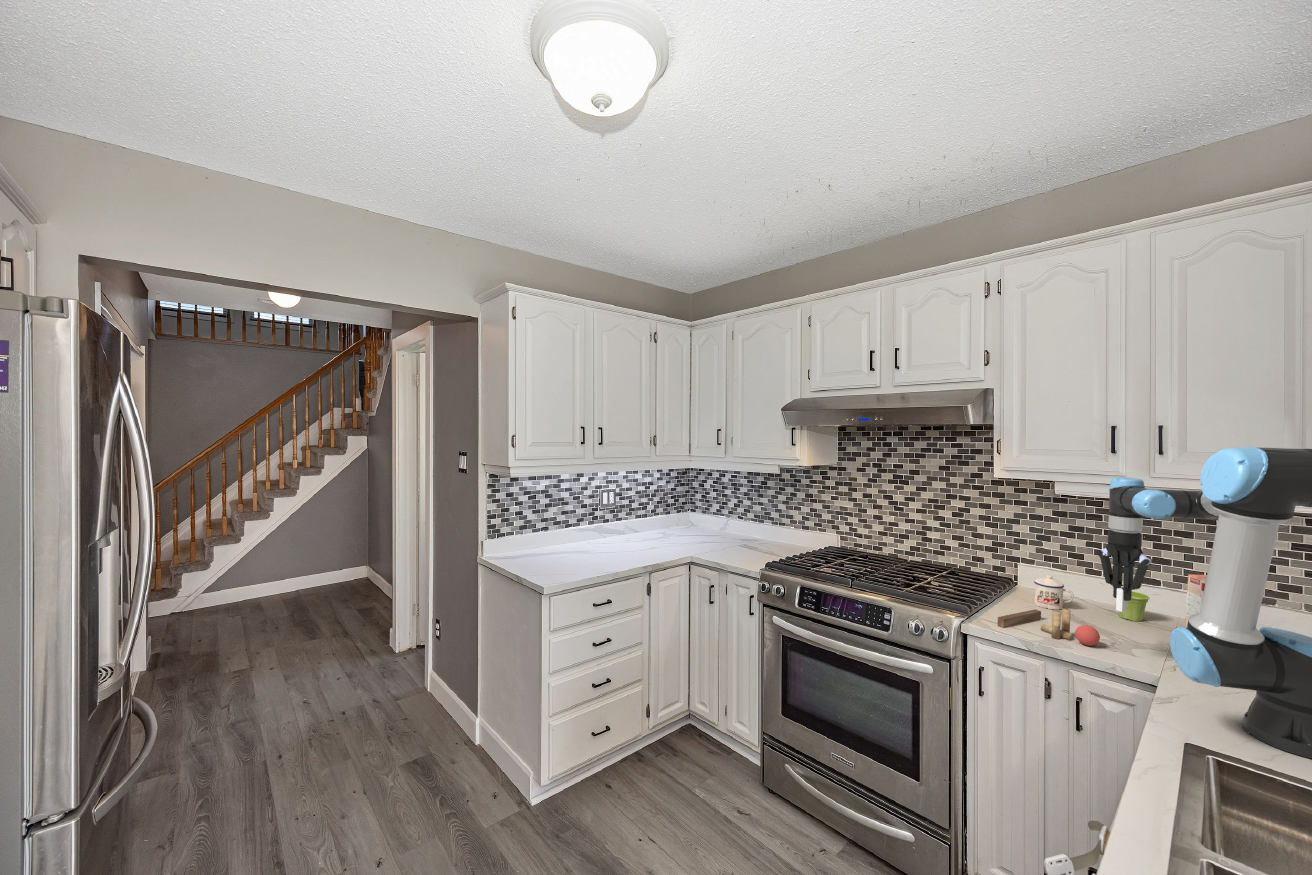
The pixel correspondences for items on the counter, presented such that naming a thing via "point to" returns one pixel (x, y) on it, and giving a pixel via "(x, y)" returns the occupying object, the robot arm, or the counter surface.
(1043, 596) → the teacup with lid
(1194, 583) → the cracker box
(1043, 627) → the front pin
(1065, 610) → the pin
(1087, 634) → the ball
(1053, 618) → the pin
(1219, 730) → the counter surface
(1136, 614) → the plant pot
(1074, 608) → the counter surface
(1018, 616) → the back wall
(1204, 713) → the counter surface
